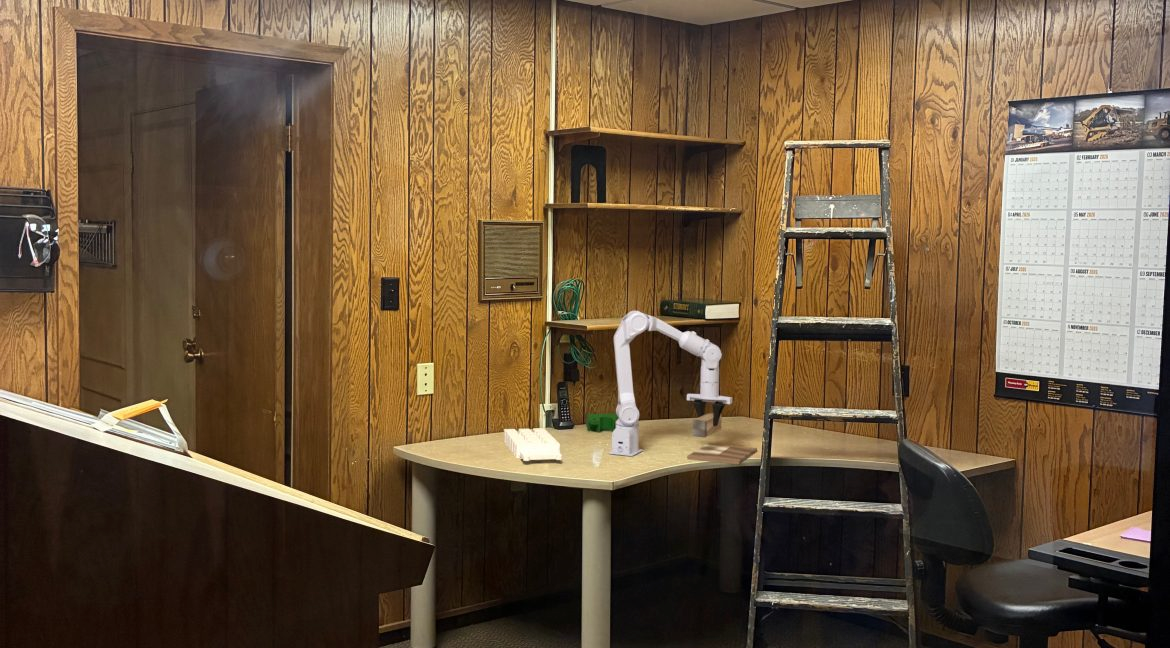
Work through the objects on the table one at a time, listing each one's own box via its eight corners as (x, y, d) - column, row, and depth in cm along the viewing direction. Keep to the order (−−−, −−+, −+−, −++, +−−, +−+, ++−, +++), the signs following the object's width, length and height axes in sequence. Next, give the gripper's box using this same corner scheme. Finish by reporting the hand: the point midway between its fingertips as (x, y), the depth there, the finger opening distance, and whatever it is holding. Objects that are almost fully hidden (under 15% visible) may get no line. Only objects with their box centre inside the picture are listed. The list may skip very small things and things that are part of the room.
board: (738, 464, 303) (738, 460, 303) (687, 459, 309) (687, 455, 309) (756, 451, 323) (757, 447, 323) (708, 446, 330) (708, 443, 329)
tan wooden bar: (721, 429, 324) (721, 413, 323) (704, 437, 312) (704, 421, 311) (709, 428, 326) (709, 412, 325) (692, 436, 314) (692, 420, 313)
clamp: (594, 444, 352) (586, 423, 349) (590, 437, 358) (582, 416, 354) (626, 431, 354) (618, 409, 350) (621, 424, 359) (613, 402, 356)
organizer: (543, 428, 334) (565, 449, 299) (543, 442, 334) (565, 465, 300) (503, 429, 331) (520, 450, 297) (503, 443, 331) (520, 467, 297)
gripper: (736, 382, 318) (735, 425, 320) (693, 378, 326) (692, 420, 327) (727, 384, 312) (726, 428, 313) (684, 381, 319) (683, 424, 320)
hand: (708, 425), depth 320 cm, fingers closed on tan wooden bar, 4 cm apart
